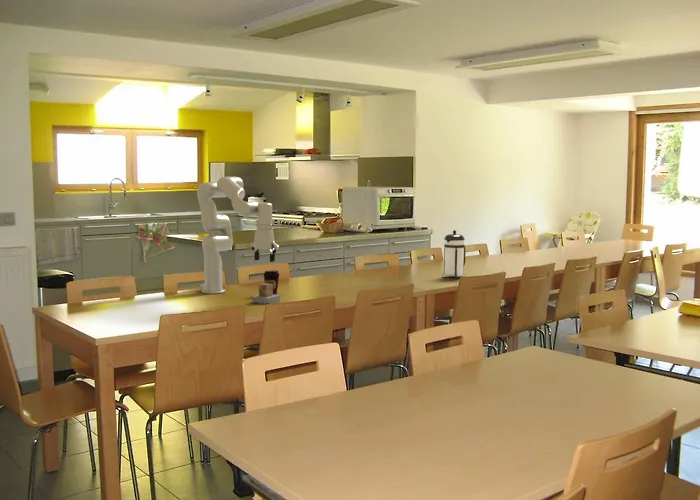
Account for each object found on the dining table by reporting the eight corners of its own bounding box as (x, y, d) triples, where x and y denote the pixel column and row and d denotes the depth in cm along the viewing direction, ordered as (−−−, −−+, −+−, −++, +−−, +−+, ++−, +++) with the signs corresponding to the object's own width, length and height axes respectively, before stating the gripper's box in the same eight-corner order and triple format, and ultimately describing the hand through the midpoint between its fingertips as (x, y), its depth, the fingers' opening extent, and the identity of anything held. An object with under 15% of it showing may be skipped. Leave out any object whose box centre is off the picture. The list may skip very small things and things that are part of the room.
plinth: (252, 302, 363) (252, 296, 362) (264, 299, 371) (264, 293, 371) (268, 304, 358) (268, 298, 357) (279, 301, 366) (279, 295, 366)
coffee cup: (276, 296, 380) (276, 272, 378) (261, 295, 381) (261, 271, 380) (281, 293, 388) (281, 270, 387) (266, 293, 390) (266, 269, 388)
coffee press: (468, 279, 448) (469, 231, 444) (443, 278, 448) (444, 231, 445) (464, 275, 465) (465, 229, 462) (440, 275, 465) (441, 228, 462)
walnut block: (258, 296, 363) (258, 284, 362) (264, 294, 367) (264, 283, 367) (266, 297, 361) (266, 285, 360) (272, 295, 365) (272, 283, 364)
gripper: (246, 226, 363) (246, 260, 365) (274, 228, 354) (273, 263, 356) (255, 225, 369) (255, 258, 371) (283, 227, 360) (282, 261, 362)
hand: (264, 260), depth 363 cm, fingers open, 9 cm apart
